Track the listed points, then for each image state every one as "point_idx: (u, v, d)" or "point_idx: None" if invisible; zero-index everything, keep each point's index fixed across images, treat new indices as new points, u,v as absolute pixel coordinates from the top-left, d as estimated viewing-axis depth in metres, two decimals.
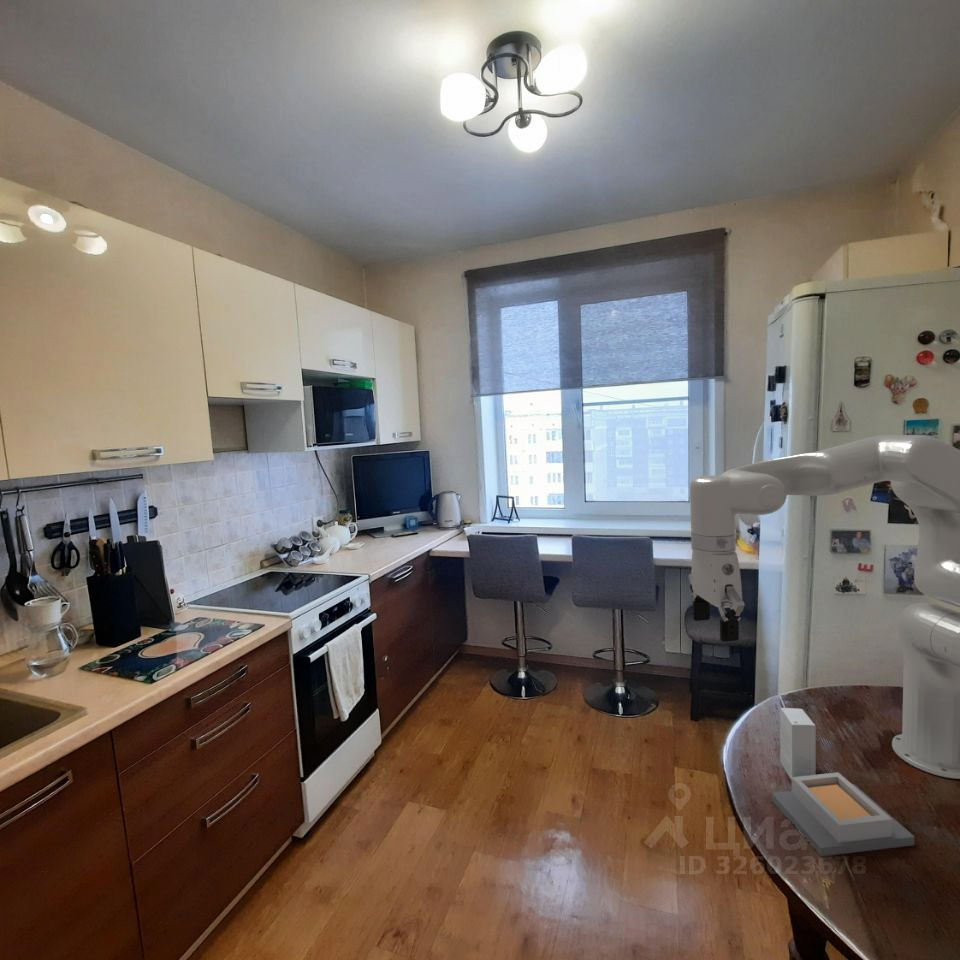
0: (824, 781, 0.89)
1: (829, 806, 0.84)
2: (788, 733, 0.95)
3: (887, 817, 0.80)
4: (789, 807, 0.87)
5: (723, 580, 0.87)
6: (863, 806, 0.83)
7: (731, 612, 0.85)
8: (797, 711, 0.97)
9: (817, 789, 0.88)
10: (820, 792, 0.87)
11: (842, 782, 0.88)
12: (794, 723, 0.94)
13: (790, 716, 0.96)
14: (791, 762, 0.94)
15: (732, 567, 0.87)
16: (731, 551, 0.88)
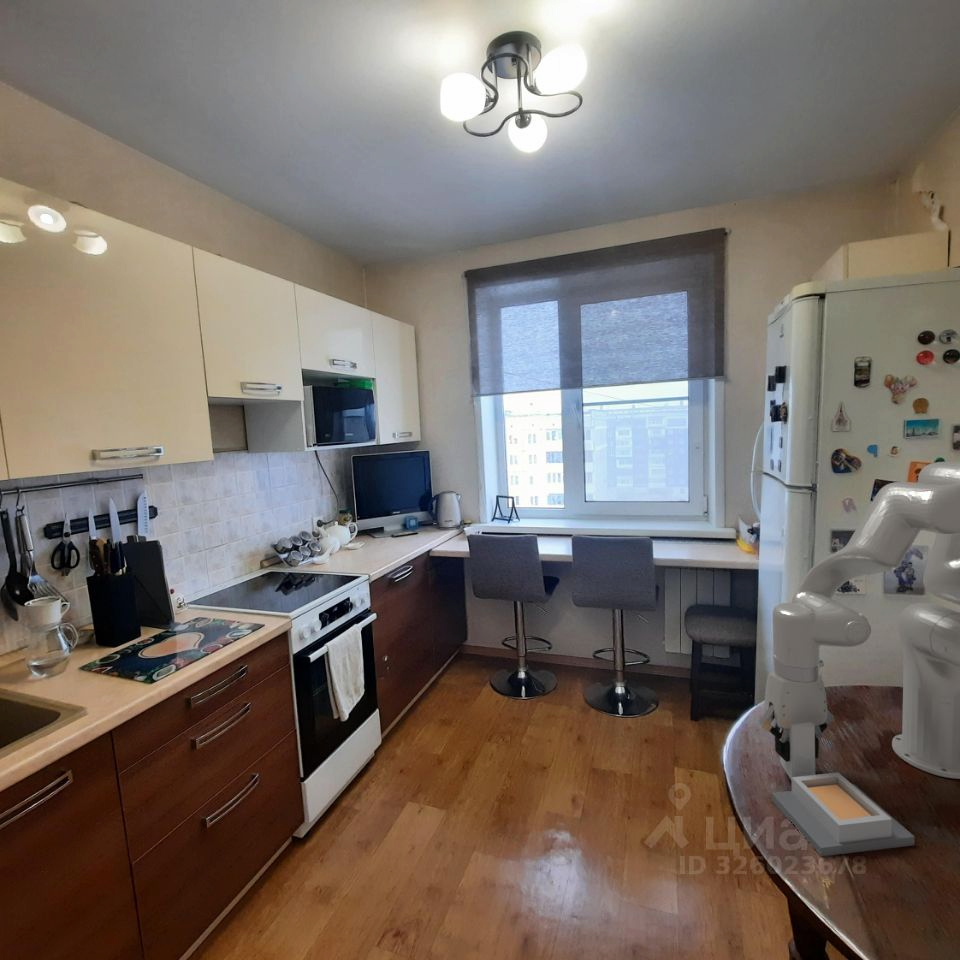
0: (824, 781, 0.89)
1: (829, 806, 0.84)
2: None
3: (887, 817, 0.80)
4: (789, 807, 0.87)
5: None
6: (863, 806, 0.83)
7: (825, 725, 0.95)
8: None
9: (817, 789, 0.88)
10: (820, 792, 0.87)
11: (842, 782, 0.88)
12: None
13: None
14: (791, 762, 0.94)
15: None
16: None
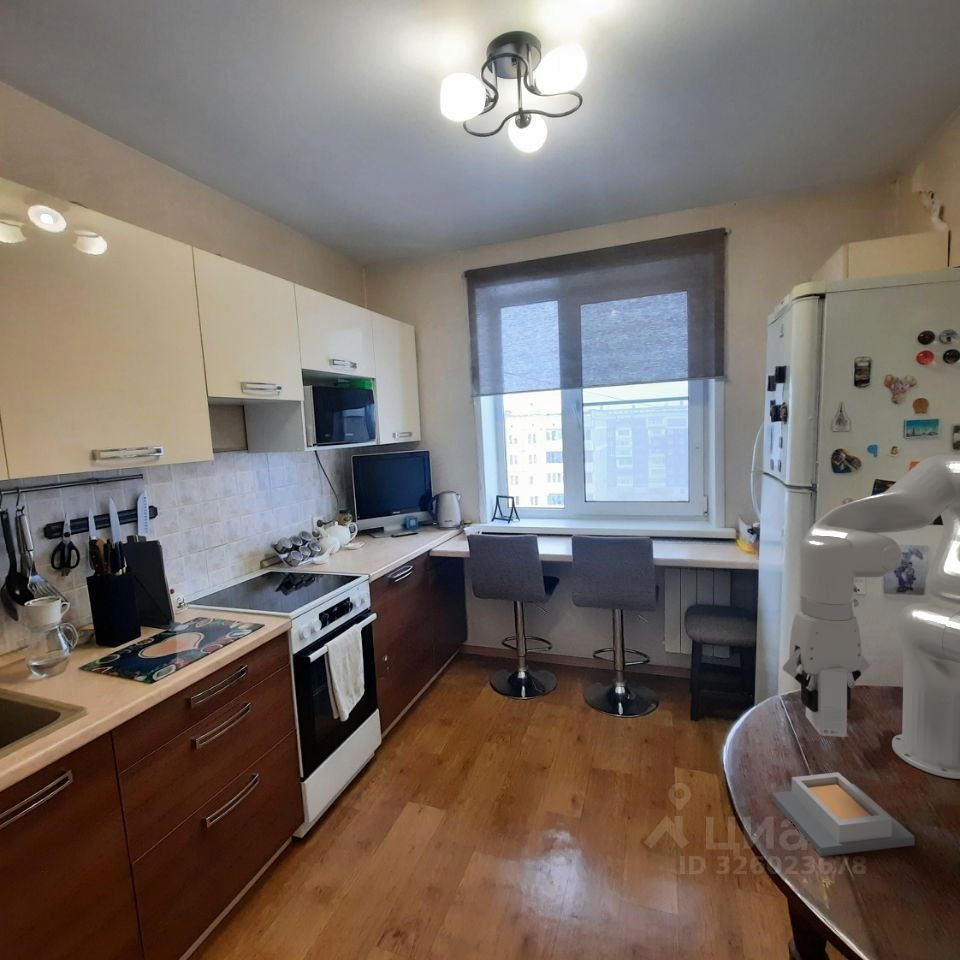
0: (824, 781, 0.89)
1: (829, 806, 0.84)
2: None
3: (887, 817, 0.80)
4: (789, 807, 0.87)
5: None
6: (863, 806, 0.83)
7: (859, 673, 0.85)
8: None
9: (817, 789, 0.88)
10: (820, 792, 0.87)
11: (842, 782, 0.88)
12: None
13: None
14: (819, 713, 0.84)
15: None
16: None
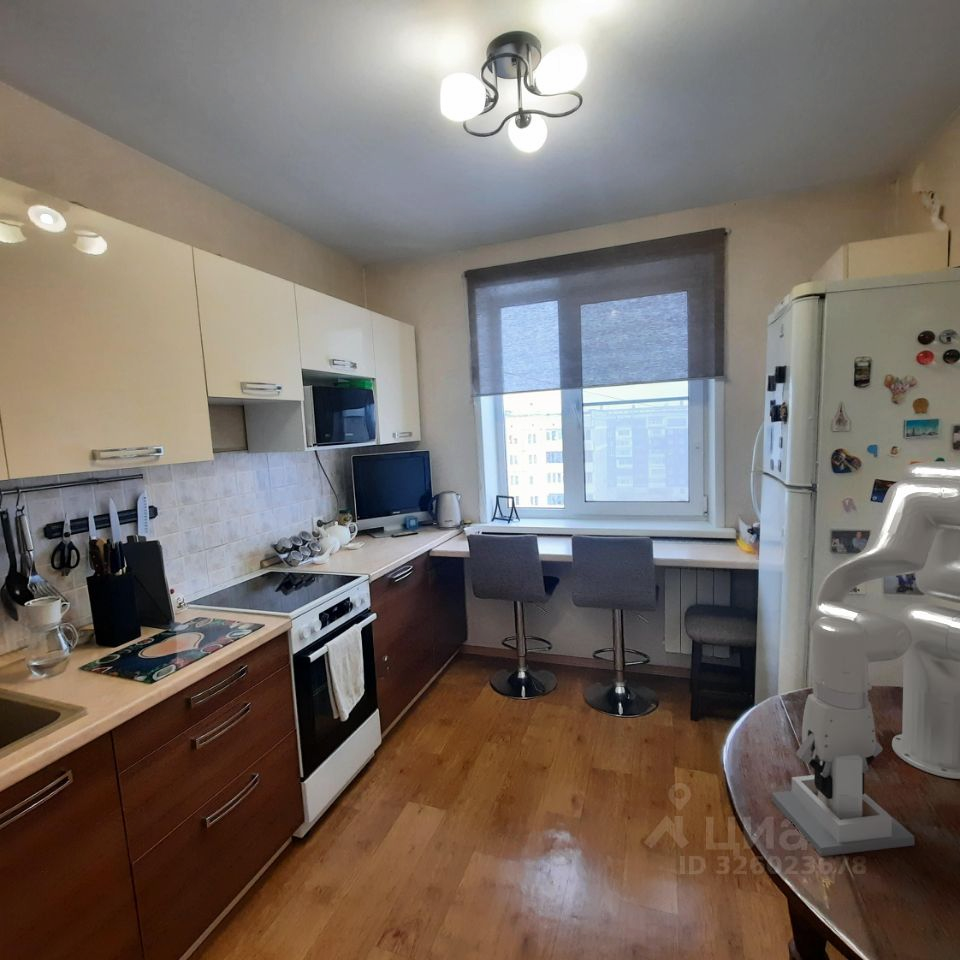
0: None
1: None
2: None
3: (887, 817, 0.80)
4: (789, 807, 0.87)
5: None
6: (863, 806, 0.83)
7: (872, 757, 0.83)
8: None
9: None
10: None
11: None
12: (838, 756, 0.81)
13: None
14: (834, 801, 0.82)
15: None
16: None
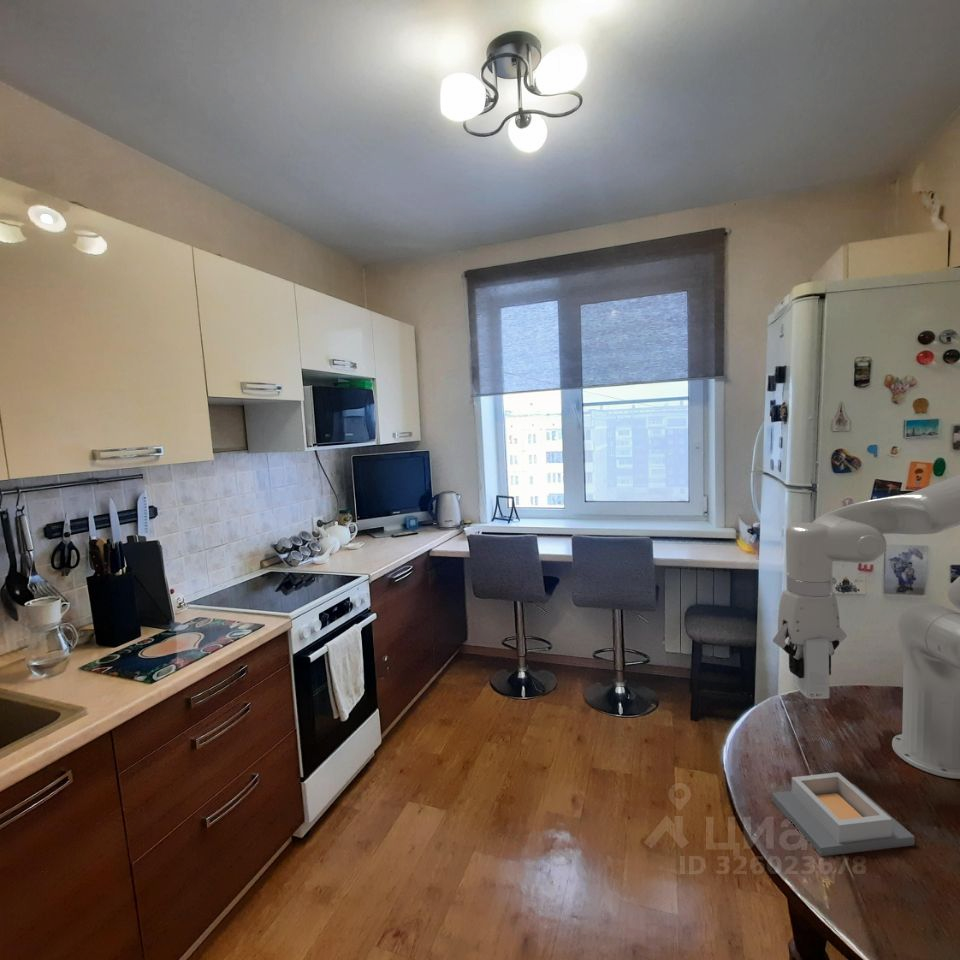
0: (824, 781, 0.89)
1: None
2: None
3: (887, 817, 0.80)
4: (789, 807, 0.87)
5: None
6: (863, 806, 0.83)
7: (837, 642, 0.97)
8: None
9: None
10: None
11: (842, 782, 0.88)
12: None
13: None
14: (805, 679, 0.96)
15: None
16: None
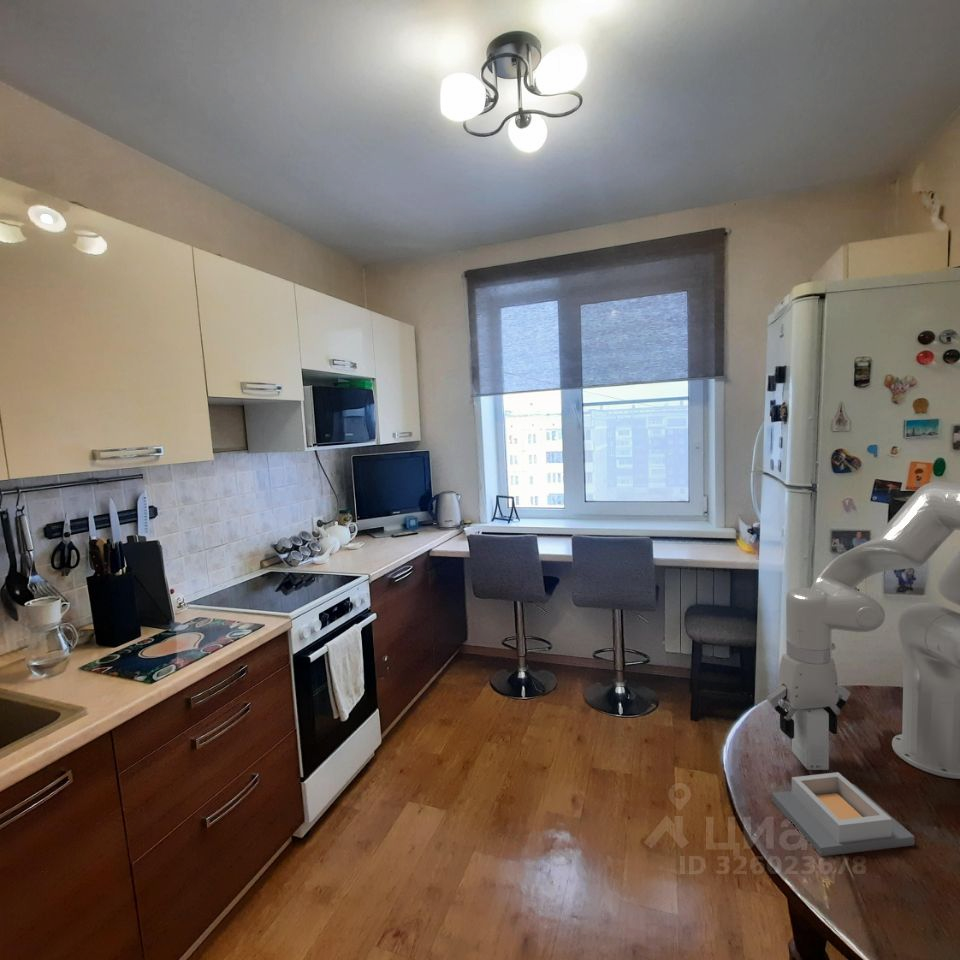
0: (824, 781, 0.89)
1: None
2: (802, 722, 0.98)
3: (887, 817, 0.80)
4: (789, 807, 0.87)
5: None
6: (863, 806, 0.83)
7: (844, 702, 0.98)
8: None
9: None
10: None
11: (842, 782, 0.88)
12: (809, 712, 0.97)
13: None
14: (806, 750, 0.97)
15: None
16: None
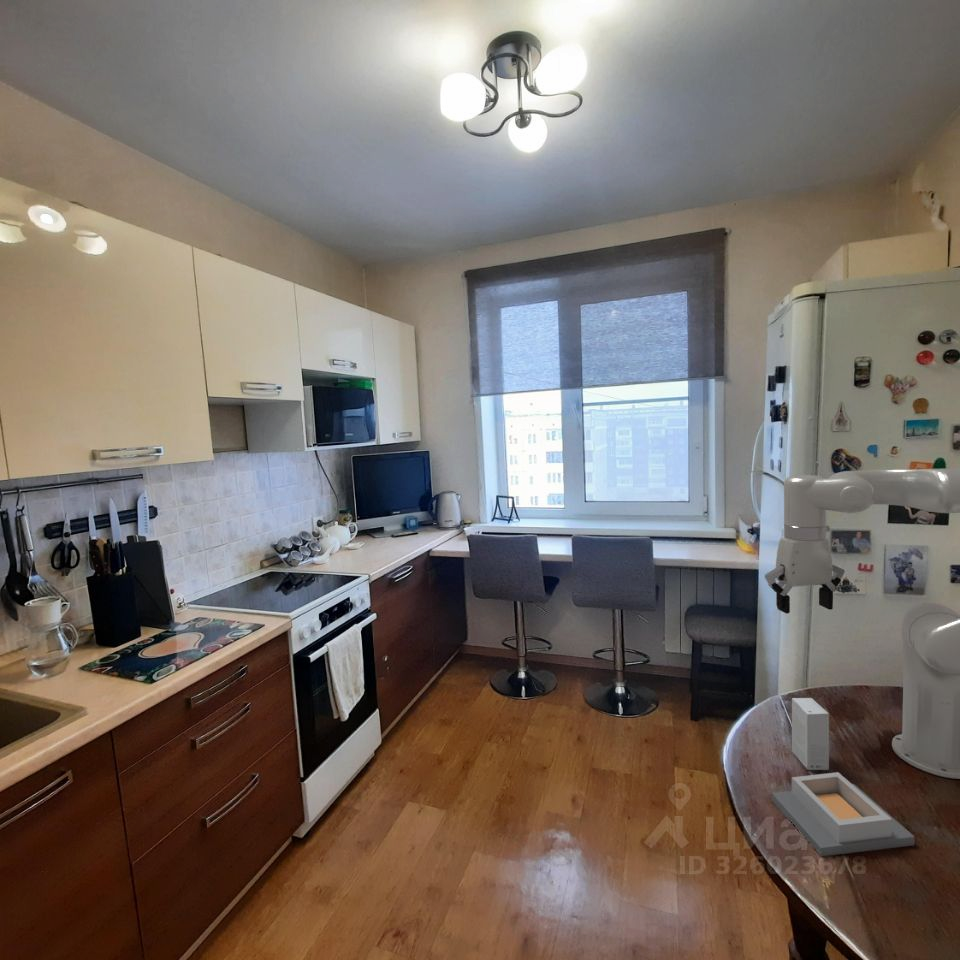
0: (824, 781, 0.89)
1: None
2: (802, 722, 0.98)
3: (887, 817, 0.80)
4: (789, 807, 0.87)
5: None
6: (863, 806, 0.83)
7: (839, 580, 1.05)
8: (809, 701, 1.00)
9: None
10: None
11: (842, 782, 0.88)
12: (809, 712, 0.97)
13: (803, 706, 0.99)
14: (806, 750, 0.97)
15: None
16: None
